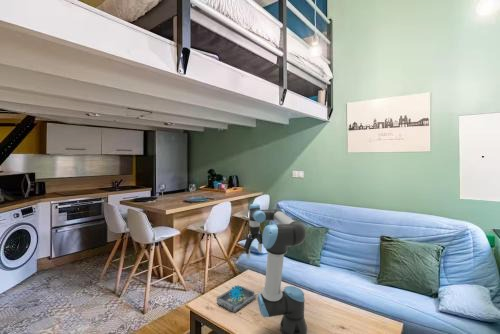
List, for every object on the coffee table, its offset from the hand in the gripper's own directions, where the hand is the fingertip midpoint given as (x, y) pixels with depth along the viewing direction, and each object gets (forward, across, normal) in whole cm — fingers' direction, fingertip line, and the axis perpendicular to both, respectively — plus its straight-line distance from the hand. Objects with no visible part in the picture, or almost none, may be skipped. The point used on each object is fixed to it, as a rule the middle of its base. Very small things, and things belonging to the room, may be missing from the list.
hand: (254, 255), depth 178 cm
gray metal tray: (+29, +14, -4) cm, 32 cm away
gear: (+27, +14, -4) cm, 31 cm away
